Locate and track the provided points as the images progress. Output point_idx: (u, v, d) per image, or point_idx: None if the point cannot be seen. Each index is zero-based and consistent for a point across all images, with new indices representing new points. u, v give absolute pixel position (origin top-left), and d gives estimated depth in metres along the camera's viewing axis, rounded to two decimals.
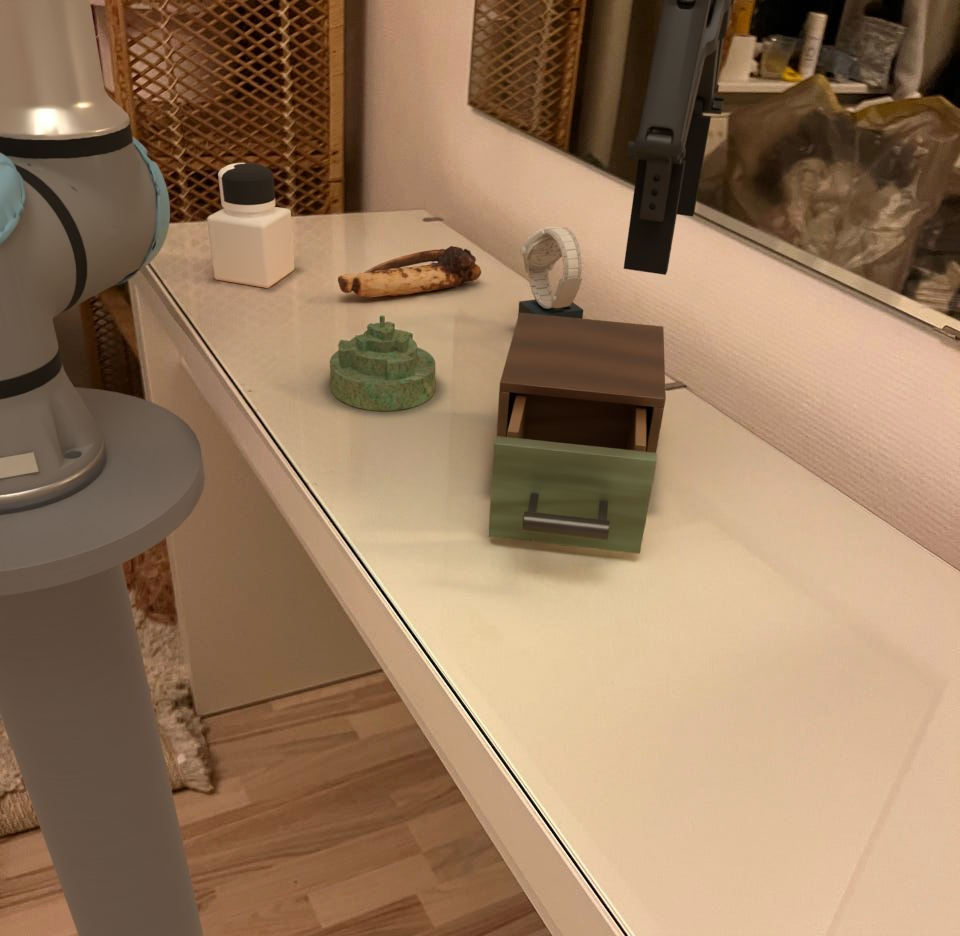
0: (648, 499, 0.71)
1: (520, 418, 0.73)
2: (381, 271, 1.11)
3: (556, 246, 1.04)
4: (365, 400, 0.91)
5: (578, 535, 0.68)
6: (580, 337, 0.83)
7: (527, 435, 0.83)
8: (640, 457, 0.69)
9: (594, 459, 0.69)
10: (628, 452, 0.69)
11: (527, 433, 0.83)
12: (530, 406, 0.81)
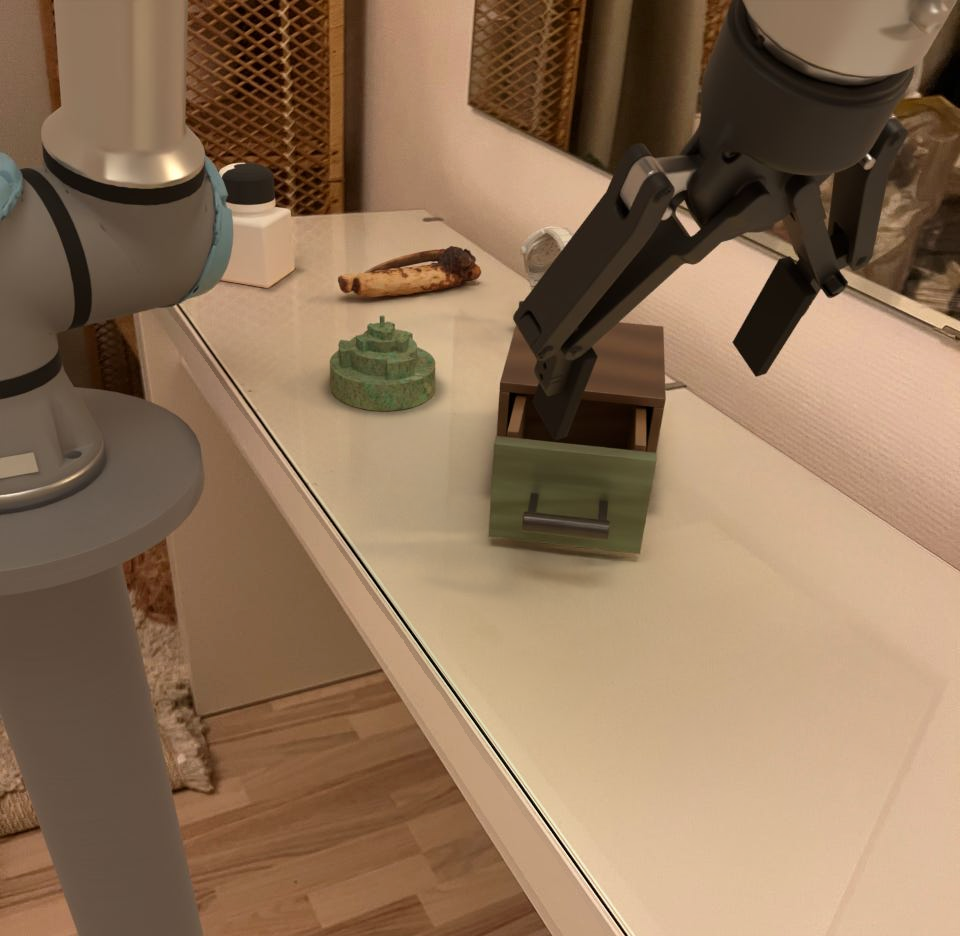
0: (648, 499, 0.71)
1: (520, 418, 0.73)
2: (381, 271, 1.11)
3: (556, 246, 1.04)
4: (365, 400, 0.91)
5: (578, 535, 0.68)
6: None
7: (527, 435, 0.83)
8: (640, 457, 0.69)
9: (594, 459, 0.69)
10: (628, 452, 0.69)
11: (527, 433, 0.83)
12: (530, 406, 0.81)
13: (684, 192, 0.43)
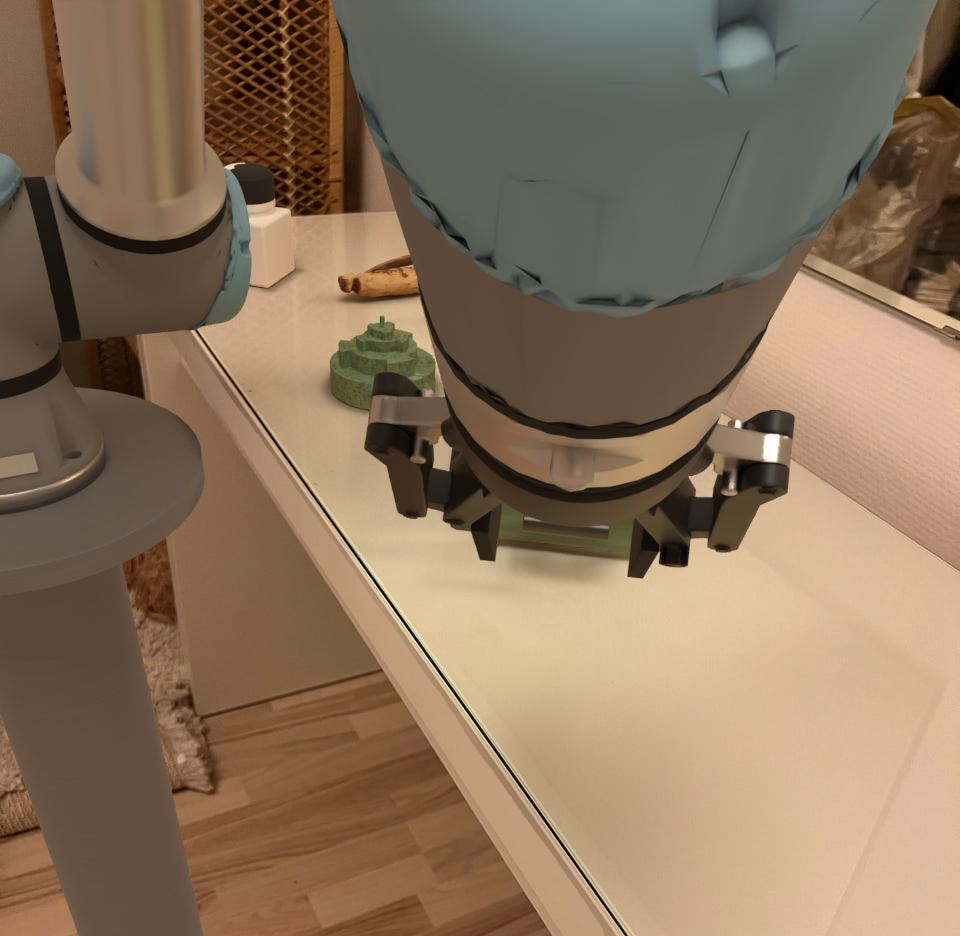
0: None
1: None
2: (381, 271, 1.11)
3: None
4: (365, 400, 0.91)
5: (578, 535, 0.68)
6: None
7: None
8: None
9: None
10: None
11: None
12: None
13: None
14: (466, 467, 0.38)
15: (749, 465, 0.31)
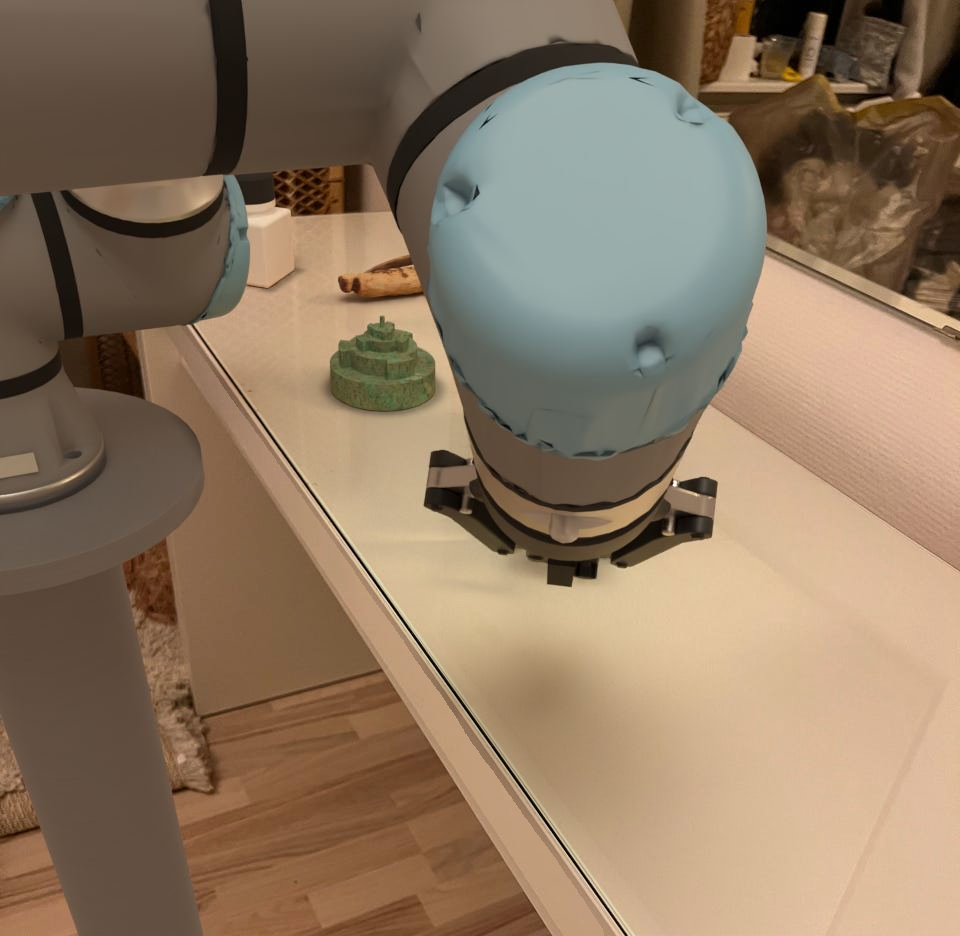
0: None
1: None
2: (381, 271, 1.11)
3: None
4: (365, 400, 0.91)
5: None
6: None
7: None
8: None
9: None
10: None
11: None
12: None
13: None
14: None
15: (686, 516, 0.43)
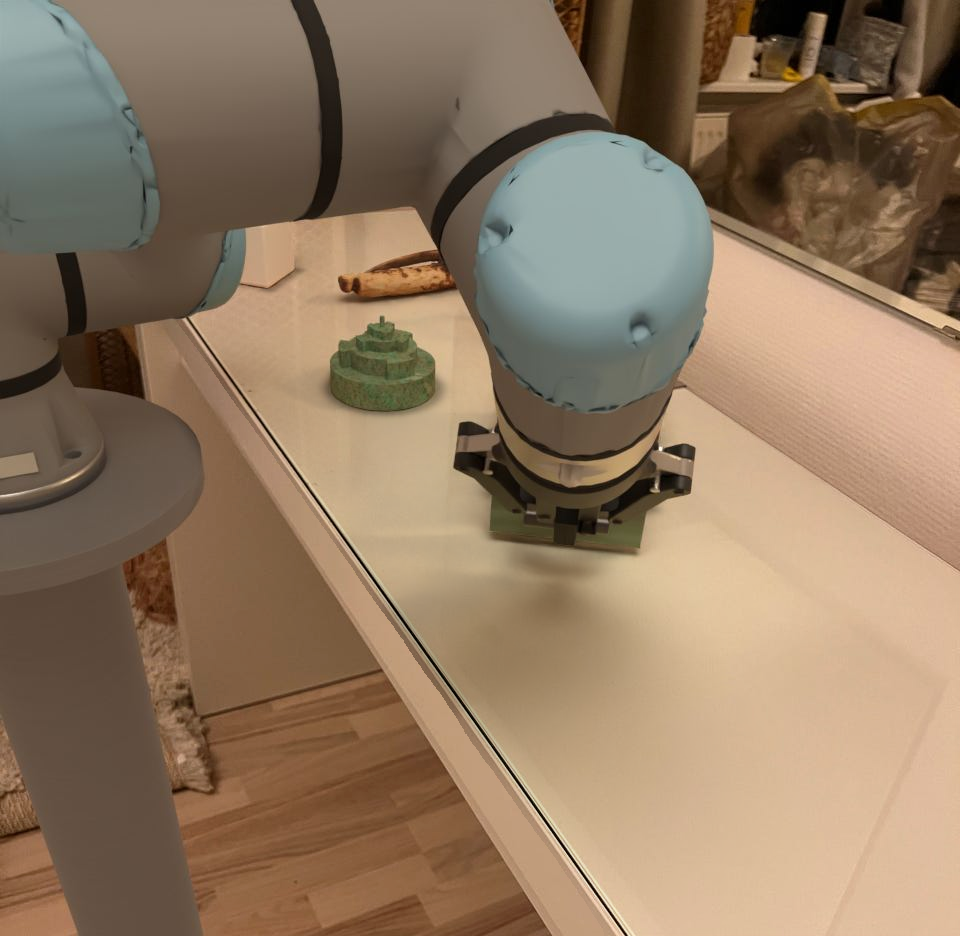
0: None
1: None
2: (381, 271, 1.11)
3: None
4: (365, 400, 0.91)
5: None
6: None
7: None
8: None
9: None
10: None
11: None
12: None
13: None
14: None
15: (669, 475, 0.52)
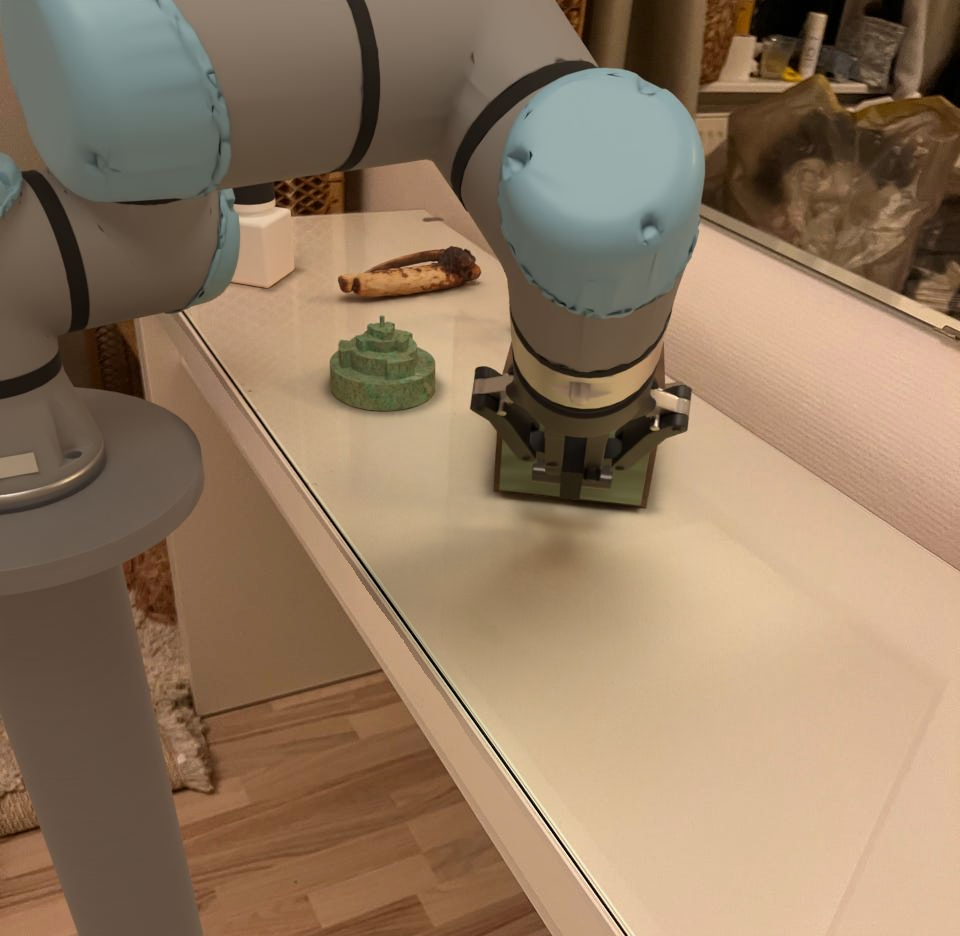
0: (648, 453, 0.76)
1: None
2: (381, 271, 1.11)
3: None
4: (365, 400, 0.91)
5: (583, 485, 0.74)
6: None
7: None
8: None
9: None
10: None
11: None
12: None
13: None
14: None
15: (668, 414, 0.57)
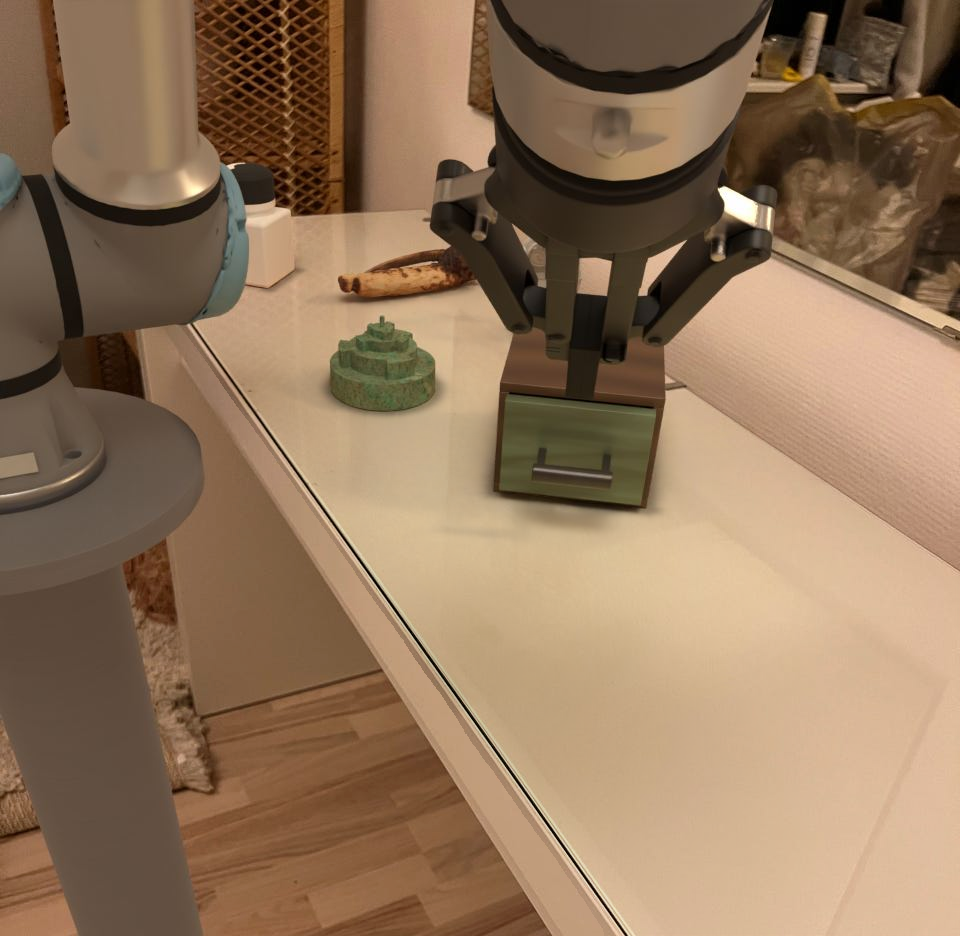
0: (648, 453, 0.76)
1: None
2: (381, 271, 1.11)
3: None
4: (365, 400, 0.91)
5: (583, 485, 0.74)
6: None
7: None
8: (641, 412, 0.74)
9: (598, 415, 0.75)
10: (629, 408, 0.75)
11: (534, 397, 0.88)
12: None
13: None
14: None
15: (740, 232, 0.36)
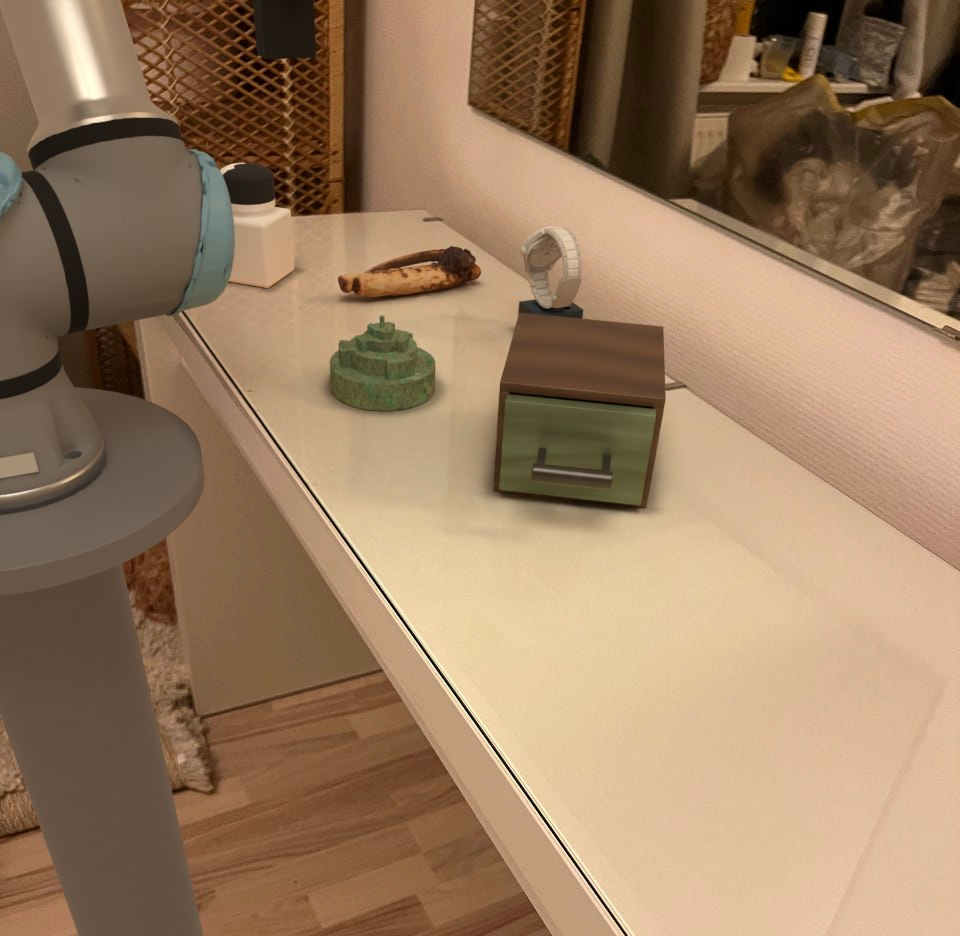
0: (648, 453, 0.76)
1: None
2: (381, 271, 1.11)
3: (556, 246, 1.04)
4: (365, 400, 0.91)
5: (583, 485, 0.74)
6: (580, 337, 0.83)
7: None
8: (641, 412, 0.74)
9: (598, 415, 0.75)
10: (629, 408, 0.75)
11: (534, 397, 0.88)
12: None
13: None
14: None
15: None
